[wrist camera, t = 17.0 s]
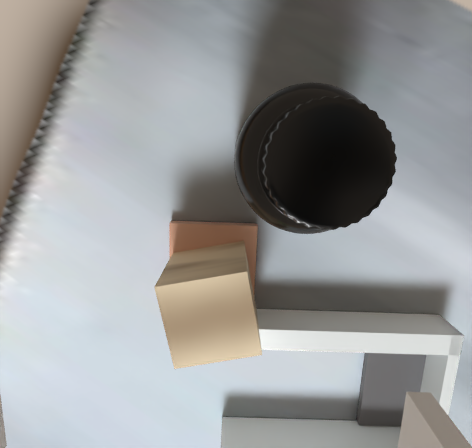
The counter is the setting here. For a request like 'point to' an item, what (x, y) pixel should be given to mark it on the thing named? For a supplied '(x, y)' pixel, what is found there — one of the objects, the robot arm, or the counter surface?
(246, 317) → the block
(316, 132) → the supplement bottle
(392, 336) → the channel
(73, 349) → the counter surface
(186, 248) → the tile
